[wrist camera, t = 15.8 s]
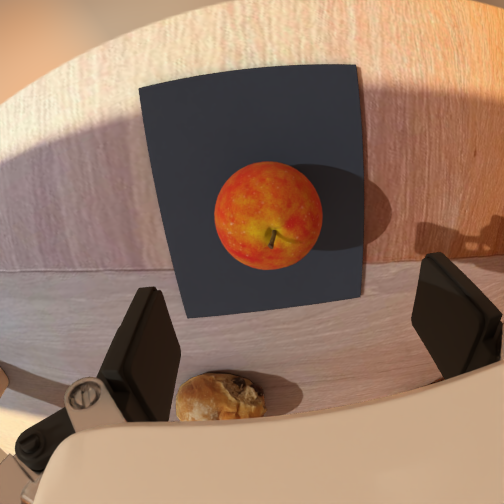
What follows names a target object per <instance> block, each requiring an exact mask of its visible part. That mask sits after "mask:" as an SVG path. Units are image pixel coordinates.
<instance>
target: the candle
mask: <svg viewBox="0 0 504 504" xmlns="http://www.w3.org/2000/svg"><path fill="white" fill-rule="evenodd" d="M8 384H9V382H8V378H7V376H6V374H5V373H4V371H3V370H2V369H1V368H0V398H1V396H2V394H3V393H4V391H5V389H6V388H7V386H8Z"/></svg>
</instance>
